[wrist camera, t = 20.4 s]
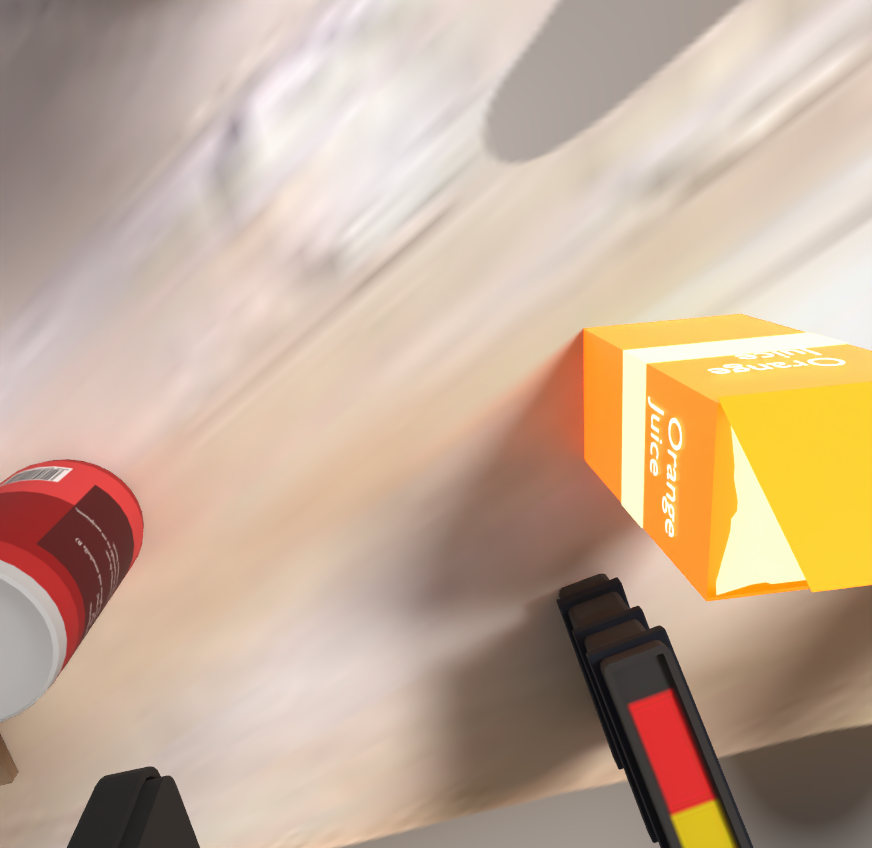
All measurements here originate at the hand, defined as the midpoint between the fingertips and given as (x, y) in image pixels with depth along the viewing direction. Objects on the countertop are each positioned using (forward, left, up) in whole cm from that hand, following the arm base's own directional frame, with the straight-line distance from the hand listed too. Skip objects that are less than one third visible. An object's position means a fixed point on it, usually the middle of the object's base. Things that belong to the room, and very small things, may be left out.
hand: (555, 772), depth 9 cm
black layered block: (+20, +8, -28) cm, 36 cm away
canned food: (+6, -20, -28) cm, 35 cm away
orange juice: (+5, +13, -28) cm, 32 cm away
